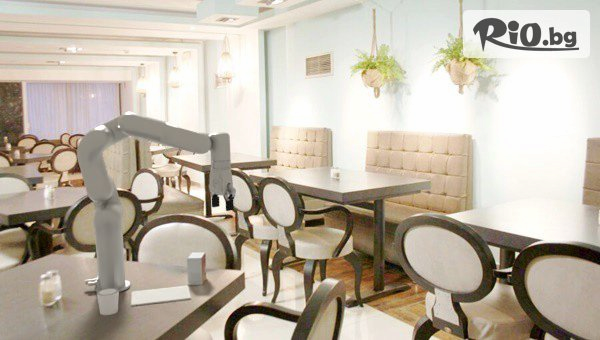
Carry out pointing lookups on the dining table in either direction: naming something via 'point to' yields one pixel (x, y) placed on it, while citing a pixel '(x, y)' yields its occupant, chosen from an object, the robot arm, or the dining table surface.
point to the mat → (160, 295)
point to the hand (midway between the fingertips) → (222, 208)
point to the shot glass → (108, 301)
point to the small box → (196, 268)
